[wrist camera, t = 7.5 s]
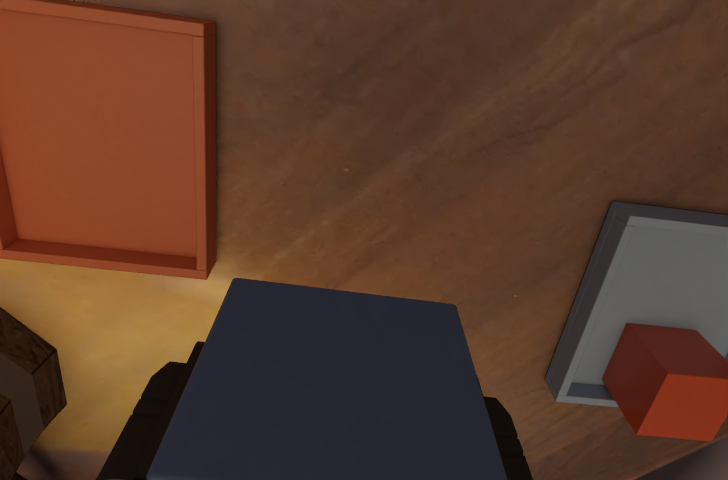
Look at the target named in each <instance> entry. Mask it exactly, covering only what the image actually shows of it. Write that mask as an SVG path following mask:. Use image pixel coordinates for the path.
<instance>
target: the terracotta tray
mask: <svg viewBox="0 0 728 480" xmlns="http://www.w3.org/2000/svg"><path fill="white" fill-rule="evenodd" d="M0 258H2V259H12V260H21V261H31V262H41V263H50V264H60V265H70V266H79V267H89V268H99V269H108V270H118V271H128V272H138V273H147V274H157V275H167V276H176V277H186V278H196V279H205V280H206V279H207V278H208V276H209V274H210V272H211V270H212V268H213V266H214V265H215V263H216V21H211V20H204V19H196V18H189V17H182V16H175V15H168V14H160V13H153V12H146V11H139V10H132V9H125V8H117V7H110V6H103V5H96V4H89V3H81V2H74V1H67V0H0Z"/></svg>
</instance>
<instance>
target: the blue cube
mask: <svg viewBox="0 0 728 480" xmlns="http://www.w3.org/2000/svg"><path fill="white" fill-rule="evenodd" d="M146 479H147V480H507V477H506V473H505V470H504V467H503V463H502V460H501V456H500V453H499V450H498V446H497V443H496V440H495V436H494V433H493V429H492V426H491V423H490V419H489V416H488V413H487V409H486V406H485V402H484V399H483V396H482V392H481V389H480V385H479V382H478V379H477V375H476V372H475V369H474V365H473V362H472V358H471V355H470V352H469V348H468V345H467V342H466V338H465V335H464V331H463V328H462V325H461V321H460V318H459V315H458V311H457V308H456V306H455V305H453V304H446V303H438V302H430V301H422V300H414V299H405V298H397V297H389V296H381V295H373V294H364V293H356V292H348V291H340V290H332V289H324V288H315V287H307V286H299V285H291V284H283V283H274V282H266V281H258V280H250V279H242V278H234V279H233V280H232V282H231V285H230V287H229V289H228V291H227V294H226V296H225V298H224V301H223V303H222V305H221V307H220V310H219V312H218V314H217V316H216V319H215V321H214V323H213V326H212V328H211V330H210V332H209V335H208V337H207V339H206V341H205V344H204V346H203V348H202V351H201V353H200V355H199V357H198V360H197V362H196V364H195V366H194V369H193V371H192V373H191V376H190V378H189V380H188V382H187V385H186V387H185V389H184V392H183V394H182V396H181V398H180V401H179V403H178V405H177V407H176V410H175V412H174V414H173V417H172V419H171V421H170V423H169V426H168V428H167V430H166V432H165V435H164V437H163V439H162V442H161V444H160V446H159V448H158V451H157V453H156V455H155V457H154V460H153V462H152V464H151V467H150V469H149V471H148V473H147V476H146Z"/></svg>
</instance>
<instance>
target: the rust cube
mask: <svg viewBox="0 0 728 480" xmlns="http://www.w3.org/2000/svg"><path fill="white" fill-rule="evenodd" d="M602 381H603V383H604V384H605V386H606V387H607V389H608V390H609V392H610V394H611V395H612V397H613V398H614V400H615V402H616V403H617V405H618V406H619V408H620V409H621V411H622V413H623V414H624V416H625V417H626V419H627V421H628V422H629V424H630V425H631V427H632V428H633V430H634V432H635V433H636V434H637V435H646V436H657V437H669V438H680V439H692V440H703V441H712V439H713V437H714V436H715V434H716V433H717V431H718V429H719V428H720V426H721V424H722V423H723V421H724V420H725V418H726V416H727V415H728V361H727V360H726V359H725V358H724V357H723V356H722V355H721V354H720V353H719V352H718V351H717V350H716V349H715V348H714V347H713V346H712V345H711V344H710V343H709V342H708V341H707V340H706V339H705V338H704V337H703V336H702V335H701V334H700V333H699V332H698V331H697V330H690V329H680V328H671V327H661V326H651V325H642V324H632V323H626V326H625V328H624V330H623V332H622V335H621V337H620V339H619V341H618V344H617V346H616V348H615V350H614V353H613V355H612V357H611V359H610V362H609V364H608V366H607V368H606V371H605V373H604V375H603V377H602Z"/></svg>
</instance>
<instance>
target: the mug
mask: <svg viewBox="0 0 728 480" xmlns="http://www.w3.org/2000/svg"><path fill="white" fill-rule="evenodd" d="M66 405H67V404H66V398H65V393H64V388H63V383H62V377H61V372H60V367H59V362H58V357H57V351H56V349H55V348H53V347H52V346H51V345H49V344H48V343H47V342H45V341H44V340H43V339H41V338H40V337H39V336H37V335H36V334H35V333H33V332H32V331H30V330H29V329H28V328H26V327H25V326H24V325H22V324H21V323H20V322H18V321H17V320H16V319H14V318H13V317H12V316H10V315H9V314H8V313H6V312H5V311H4V310H2V309H1V308H0V480H27V479H25V478H24V477H22V476H21V475H19V474H18V473H17V472H16V471H17V469H18V467H19V465H20V464H21V462H22V460H23V458H24V457H25V455H26V454H27V452H28V451H29V449H30V448H31V447H32V445H33V444H34V442H35V441H36V440H37V438H38V437H39V435H40V434H41V433H42V431H43V430H44V429H45V427H46V426H47V425H48V424H49V423H50V422H51V421H52V420H53V419H54V418H55V417H56V416H57V414H58V413H59V412H60V411H61V410H62V409H63V408H64V407H65V406H66Z"/></svg>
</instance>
